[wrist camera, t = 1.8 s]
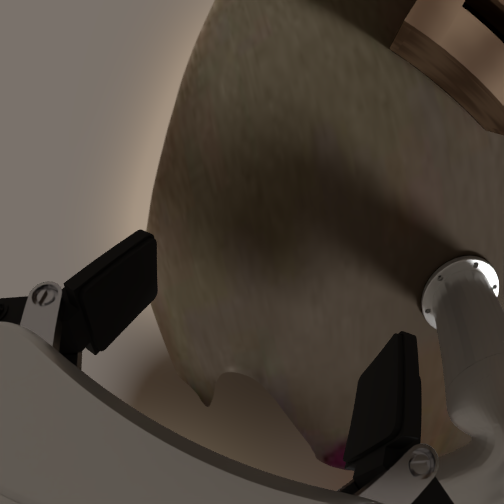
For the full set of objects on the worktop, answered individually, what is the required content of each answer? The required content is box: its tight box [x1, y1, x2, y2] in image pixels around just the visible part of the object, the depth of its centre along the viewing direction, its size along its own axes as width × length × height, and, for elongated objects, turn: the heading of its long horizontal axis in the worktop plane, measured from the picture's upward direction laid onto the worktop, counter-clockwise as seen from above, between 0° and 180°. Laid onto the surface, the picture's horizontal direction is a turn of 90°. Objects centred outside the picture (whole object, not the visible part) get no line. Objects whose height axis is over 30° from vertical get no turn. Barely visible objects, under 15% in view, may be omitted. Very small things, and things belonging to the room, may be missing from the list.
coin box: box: [389, 0, 504, 135], centre depth 12 cm, size 14×14×11 cm
